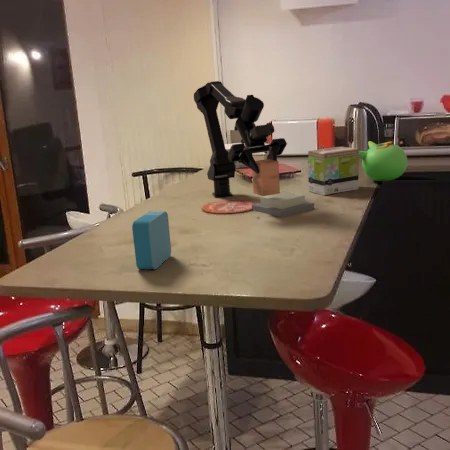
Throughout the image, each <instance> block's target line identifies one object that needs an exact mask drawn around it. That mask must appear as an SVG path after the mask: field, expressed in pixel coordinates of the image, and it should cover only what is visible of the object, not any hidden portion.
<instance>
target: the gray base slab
mask: <svg viewBox="0 0 450 450" xmlns="http://www.w3.org/2000/svg"><path fill="white" fill-rule="evenodd" d="M252 209H253V210H252ZM313 209H315V202H311V201H307V200H305V203H303V204H299V205H296V206H292V207H288V208H284V209H279V208H274V207H270V206H265V205H261V203H260V202H258V203H253V204H251V210H252V211H254V212H259V213H262V214H266V215H270V216H274V217H278V218H283V217H287V216H292V215H294V214H298V213H302V212H303V213H304V212H306V211H309V210H313Z"/></svg>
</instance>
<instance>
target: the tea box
mask: <svg viewBox="0 0 450 450" xmlns="http://www.w3.org/2000/svg"><path fill="white" fill-rule="evenodd" d="M359 151H360V149H359V148H355V147H347V146H336V147H335V146H334V147H329V148H327V147H326V148H320V149H313V150H308V151H307V156H308V159H307V163H308V164H307V165H308V168H307V169H308V172H307V173H308V174H307V175H308V177H307V179H308V180H307V181H308V192H311V193H313V194H318V195H322V196H327V195H332V194H338V193H343V192H345V193H346V192H351V191H357V190H359V183H360V181H359V175H360V173H359V172H360V171H359V165H360V164H359V163H360V162H359V161H360V160H359V159H360V158H359Z"/></svg>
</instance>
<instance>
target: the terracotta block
mask: <svg viewBox="0 0 450 450" xmlns="http://www.w3.org/2000/svg"><path fill="white" fill-rule="evenodd" d="M255 162H256V164H257V166H258V169H259V173H258V174H257V173H256V172H255V171H253V170H252V169H251V171H252V172H251V173H252V187H253V188H252V189H253V190H252V191H253V194H255V195H258V196H260V197H262V196H268V195H273V194H279V193H280V192H281V191H280V170H279V169H280V168H279V165H280V164H279V161H278V160H277V161H275V160H271V159H267V158H266V159H260V160H255Z"/></svg>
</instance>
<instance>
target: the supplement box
mask: <svg viewBox="0 0 450 450" xmlns="http://www.w3.org/2000/svg"><path fill="white" fill-rule="evenodd" d="M233 144H241V142H234V143H224V145H225V149H226V150H227V151H228V152H229V150H230V148H231V146H232V145H233ZM244 145H245V144H244ZM234 163H235V166H236V167H235V169H240V168H239V167H247V166H246V165H244V164H242V163H239V162H238V161H236V162H234ZM247 168H248V167H247Z"/></svg>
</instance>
